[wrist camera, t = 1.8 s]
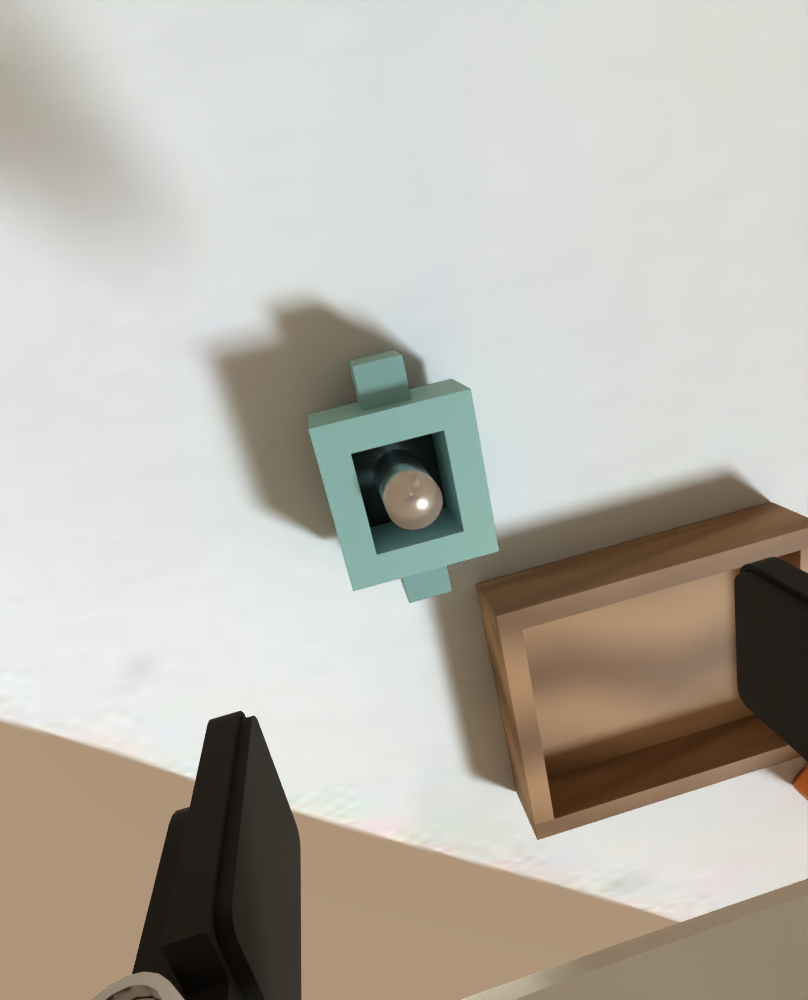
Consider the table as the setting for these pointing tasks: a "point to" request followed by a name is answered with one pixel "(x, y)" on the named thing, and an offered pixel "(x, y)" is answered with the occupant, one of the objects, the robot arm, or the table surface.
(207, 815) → the robot arm
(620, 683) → the tray
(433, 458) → the grey metallic peg stand
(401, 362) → the teal tabbed square frame
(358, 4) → the table surface
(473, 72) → the table surface
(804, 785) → the supplement box
